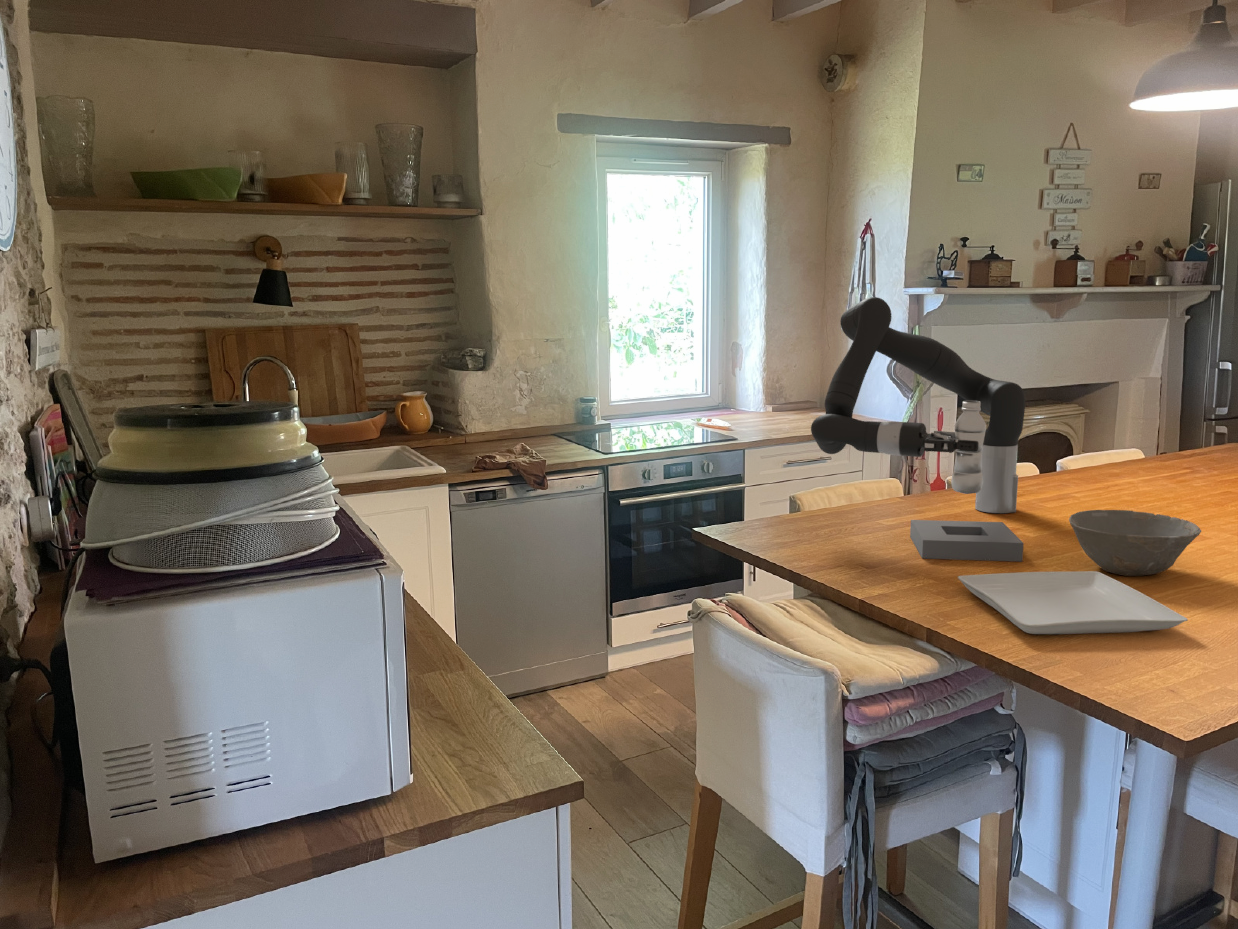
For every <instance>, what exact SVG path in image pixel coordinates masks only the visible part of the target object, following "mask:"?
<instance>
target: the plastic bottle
mask: <svg viewBox="0 0 1238 929" xmlns="http://www.w3.org/2000/svg"><path fill="white" fill-rule="evenodd" d="M980 404H981V403H980V401H966V400H963V401H962V406H961V411H962V413H961V414H960V416H958V418H957V420H956V422H955V423H954V432H955V439H959V442H960V440H971V441H978V442H979V446H978V451H976V452H973V451H957V452H955V461H954V467H953V471H952V475H951V480H950V482H951V487H952V490H953V491H954V492H957V493H961V494H964V495H970V494H971V495H972V494H976V493H978V492H979V491H980V490H981V489H982V485H983V475H982V463H981V456H982V447H983V441H984V436H985V431H986V429H987V424H986V421H985V419H984V418H983V416H982V415H981V414H980V412H981V411H980V410H981V408H980Z"/></svg>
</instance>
